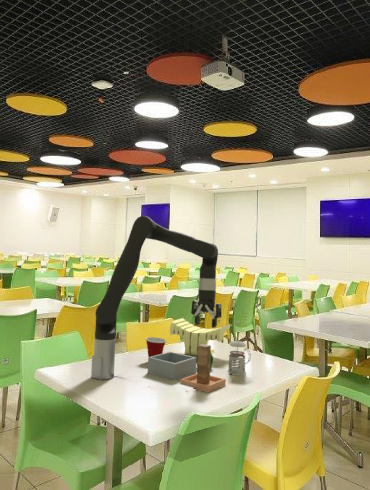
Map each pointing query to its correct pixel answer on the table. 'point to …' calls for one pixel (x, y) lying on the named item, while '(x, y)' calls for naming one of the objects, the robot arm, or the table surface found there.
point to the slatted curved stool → (196, 335)
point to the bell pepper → (210, 360)
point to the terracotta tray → (213, 384)
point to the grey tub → (172, 365)
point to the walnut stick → (203, 364)
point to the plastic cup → (155, 346)
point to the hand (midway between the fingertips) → (205, 326)
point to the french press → (234, 357)
